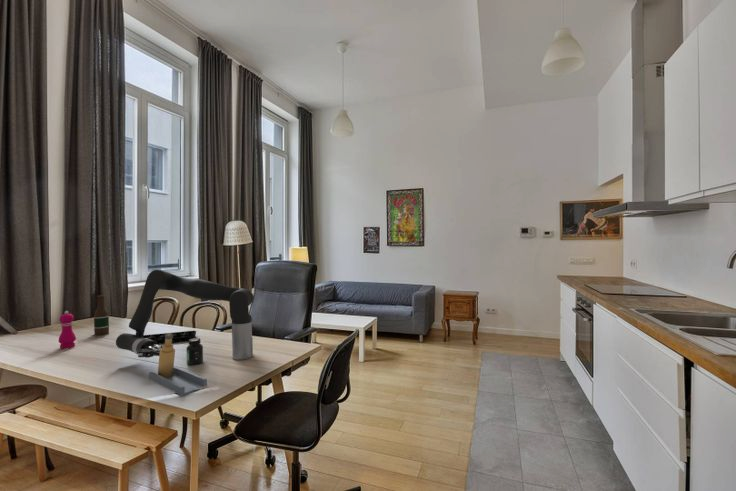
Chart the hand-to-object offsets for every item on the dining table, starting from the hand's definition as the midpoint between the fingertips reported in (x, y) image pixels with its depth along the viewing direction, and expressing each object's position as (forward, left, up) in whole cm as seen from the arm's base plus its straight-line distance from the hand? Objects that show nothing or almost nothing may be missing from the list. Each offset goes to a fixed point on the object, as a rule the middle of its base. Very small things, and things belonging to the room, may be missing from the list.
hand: (163, 354), depth 149 cm
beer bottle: (+43, -99, -11) cm, 108 cm away
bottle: (-1, +1, -9) cm, 9 cm away
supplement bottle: (-12, -12, -11) cm, 19 cm away
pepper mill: (+53, -74, -11) cm, 91 cm away
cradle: (-5, +9, -10) cm, 15 cm away
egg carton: (+4, -62, -11) cm, 63 cm away
